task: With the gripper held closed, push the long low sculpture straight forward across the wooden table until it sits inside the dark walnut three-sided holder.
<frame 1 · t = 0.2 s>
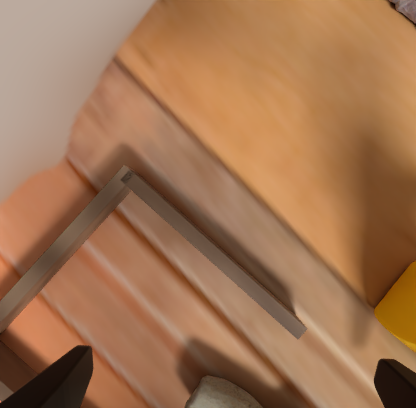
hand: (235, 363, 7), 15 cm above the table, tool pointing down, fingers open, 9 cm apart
figure statuette: (405, 297, 23), on the table
holder: (141, 329, 23), on the table
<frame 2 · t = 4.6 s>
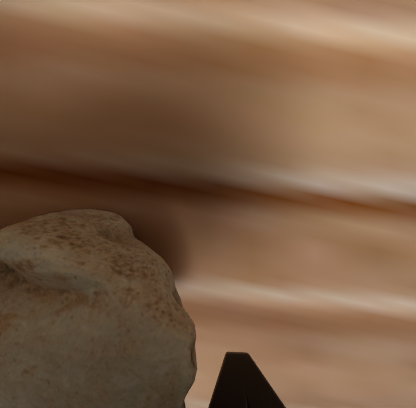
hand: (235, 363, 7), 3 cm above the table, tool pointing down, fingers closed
sculpture: (20, 284, 10), on the table, touching gripper
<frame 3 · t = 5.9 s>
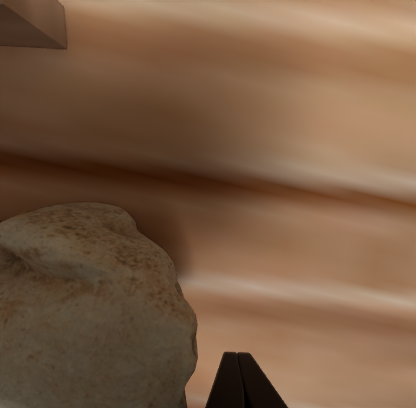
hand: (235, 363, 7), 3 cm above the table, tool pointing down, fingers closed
sculpture: (23, 275, 10), on the table
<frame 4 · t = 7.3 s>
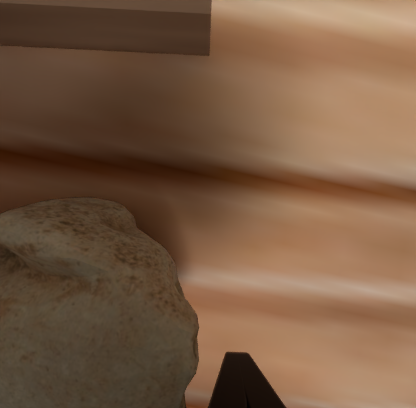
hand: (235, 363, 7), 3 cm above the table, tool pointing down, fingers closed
sculpture: (18, 272, 10), on the table, touching gripper
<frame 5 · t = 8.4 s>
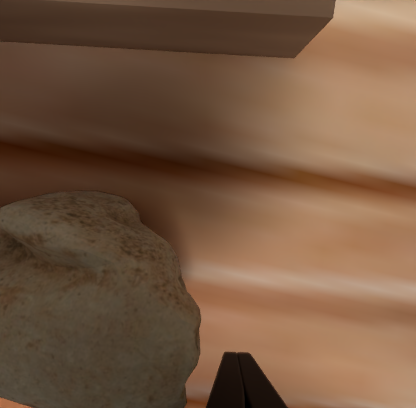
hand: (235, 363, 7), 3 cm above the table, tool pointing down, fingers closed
sculpture: (21, 263, 10), on the table
holder: (19, 300, 10), on the table
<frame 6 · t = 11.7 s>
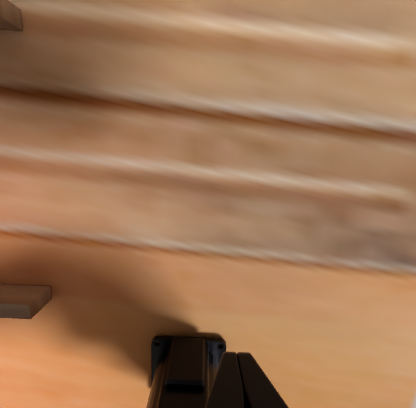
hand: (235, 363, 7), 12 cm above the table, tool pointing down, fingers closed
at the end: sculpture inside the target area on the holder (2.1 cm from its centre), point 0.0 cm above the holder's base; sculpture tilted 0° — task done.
